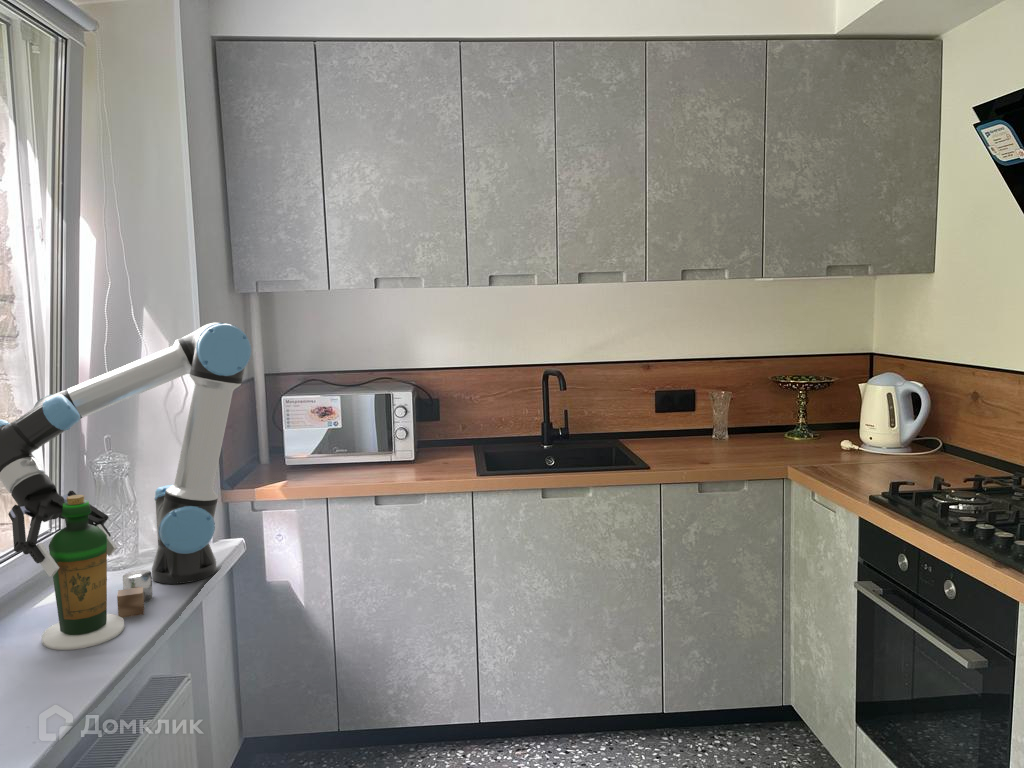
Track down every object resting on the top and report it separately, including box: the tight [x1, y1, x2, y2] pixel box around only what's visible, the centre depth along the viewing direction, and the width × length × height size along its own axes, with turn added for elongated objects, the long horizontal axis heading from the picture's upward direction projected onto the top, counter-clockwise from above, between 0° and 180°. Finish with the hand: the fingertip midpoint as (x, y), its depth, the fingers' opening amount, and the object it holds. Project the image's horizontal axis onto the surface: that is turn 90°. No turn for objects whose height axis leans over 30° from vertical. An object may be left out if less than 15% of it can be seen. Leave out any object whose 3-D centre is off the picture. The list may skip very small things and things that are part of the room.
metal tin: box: [122, 569, 154, 604], centre depth 179 cm, size 6×6×6 cm
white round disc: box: [41, 613, 125, 651], centre depth 161 cm, size 15×15×1 cm
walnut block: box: [116, 587, 145, 619], centre depth 172 cm, size 5×4×5 cm
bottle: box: [48, 494, 108, 635], centre depth 160 cm, size 11×11×28 cm
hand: (85, 561), depth 159 cm, fingers open, 13 cm apart
